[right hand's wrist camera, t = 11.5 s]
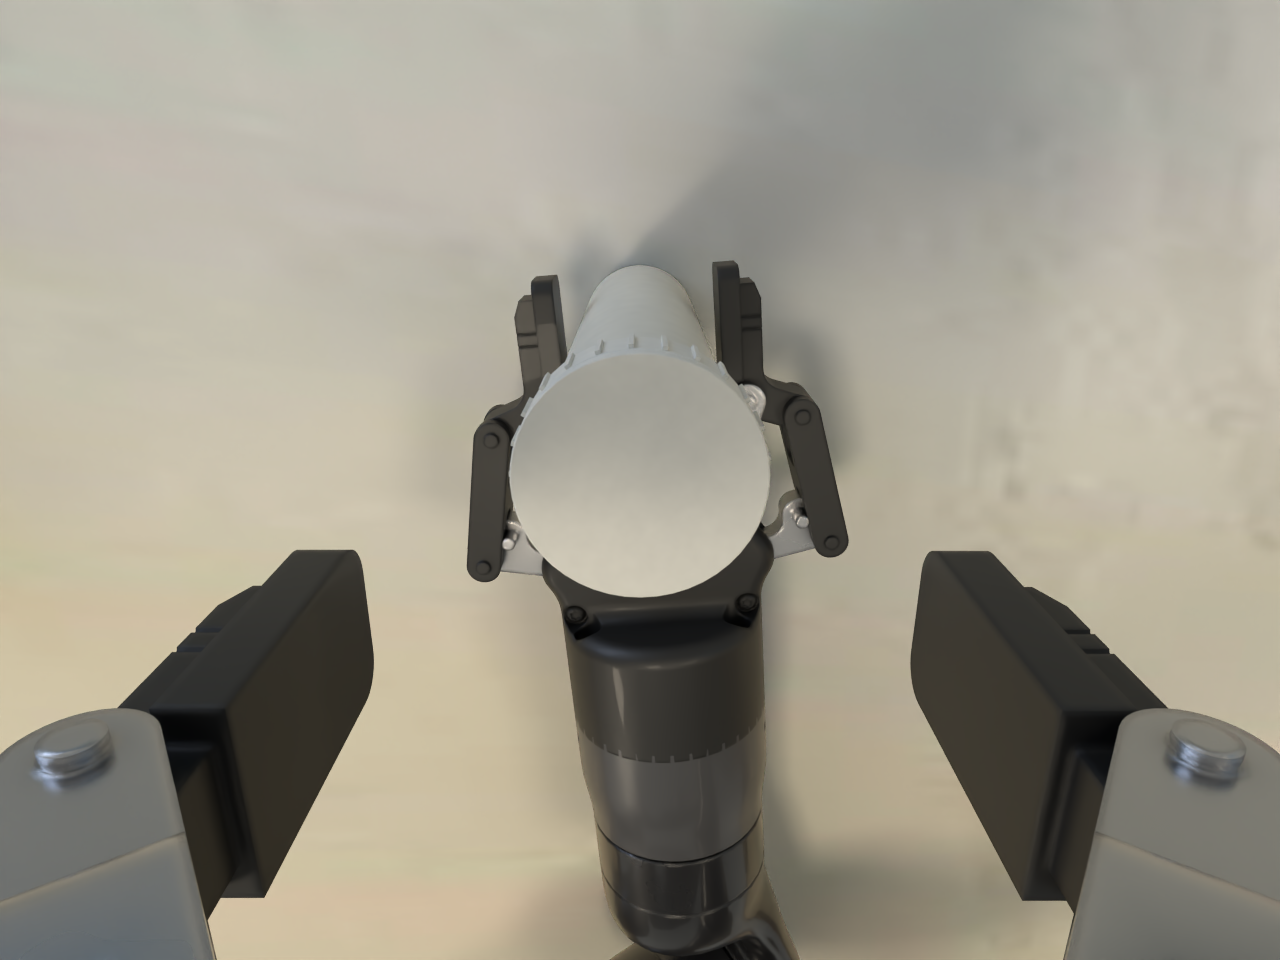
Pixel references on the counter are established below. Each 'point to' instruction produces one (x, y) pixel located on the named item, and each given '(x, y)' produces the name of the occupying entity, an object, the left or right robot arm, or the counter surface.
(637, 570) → the lid
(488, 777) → the counter surface
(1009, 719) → the right robot arm
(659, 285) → the white cylindrical bottle
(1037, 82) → the counter surface
